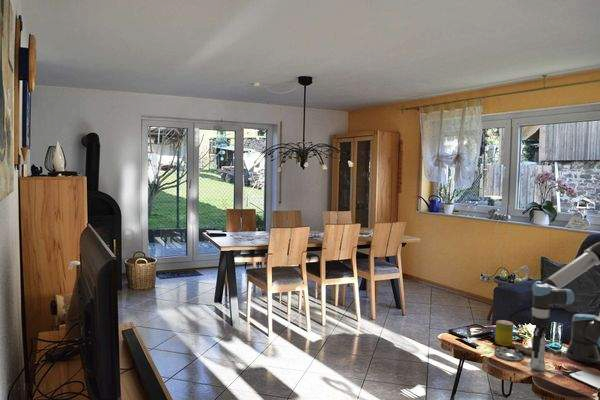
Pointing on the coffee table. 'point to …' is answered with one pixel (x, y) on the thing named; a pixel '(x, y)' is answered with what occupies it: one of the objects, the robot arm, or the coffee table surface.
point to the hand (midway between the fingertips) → (537, 362)
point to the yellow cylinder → (504, 333)
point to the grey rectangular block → (523, 349)
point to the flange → (508, 354)
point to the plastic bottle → (541, 359)
